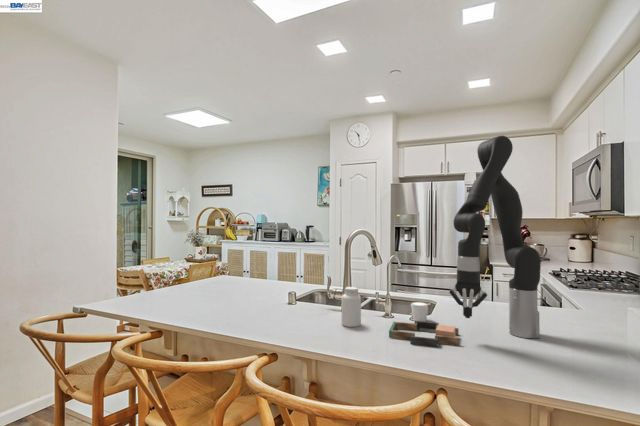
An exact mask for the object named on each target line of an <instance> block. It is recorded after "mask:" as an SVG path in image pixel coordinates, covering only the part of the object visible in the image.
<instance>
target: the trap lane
mask: <svg viewBox="0 0 640 426" xmlns="http://www.w3.org/2000/svg"><path fill="white" fill-rule="evenodd" d="M438 324H439V325H440V323H439V322H432V321H431V322H430V321H425V322H423V321H414V323H413V322H412V323H411V322H402V321H392V324H391V326H390V327H389V330H388V338H390V339H399V340H407V341H410V345H415V346H416V345H417V346H423V347H432V348H439V344H442V345H449V346H459V347H460V346H461V342H460V341H461V339H460V337H459V327H455V336H456V337H450V336H441V335H436V328H437V326H438ZM401 330H402V331H401ZM403 330H404V331H403ZM412 331H413V332H412ZM415 332H420V333H430V334H431V333H432V334H435V335H434V338H431V337H424V336H416V334H415Z"/></svg>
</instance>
